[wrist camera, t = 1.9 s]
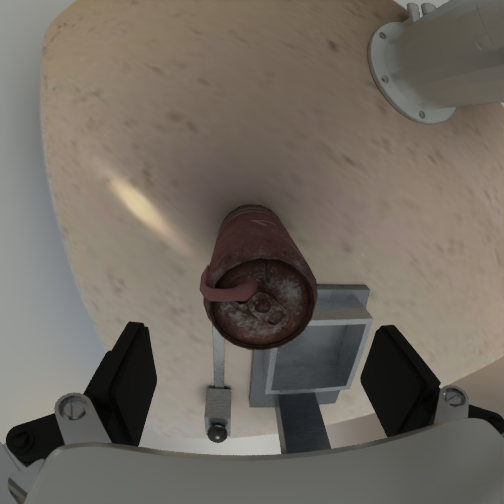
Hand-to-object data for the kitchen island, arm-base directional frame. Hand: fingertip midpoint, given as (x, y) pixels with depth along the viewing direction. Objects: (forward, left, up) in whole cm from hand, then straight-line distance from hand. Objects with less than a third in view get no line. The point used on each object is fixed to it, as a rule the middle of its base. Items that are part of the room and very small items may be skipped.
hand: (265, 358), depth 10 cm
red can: (0, 0, -18) cm, 18 cm away
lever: (+22, -3, -18) cm, 28 cm away
